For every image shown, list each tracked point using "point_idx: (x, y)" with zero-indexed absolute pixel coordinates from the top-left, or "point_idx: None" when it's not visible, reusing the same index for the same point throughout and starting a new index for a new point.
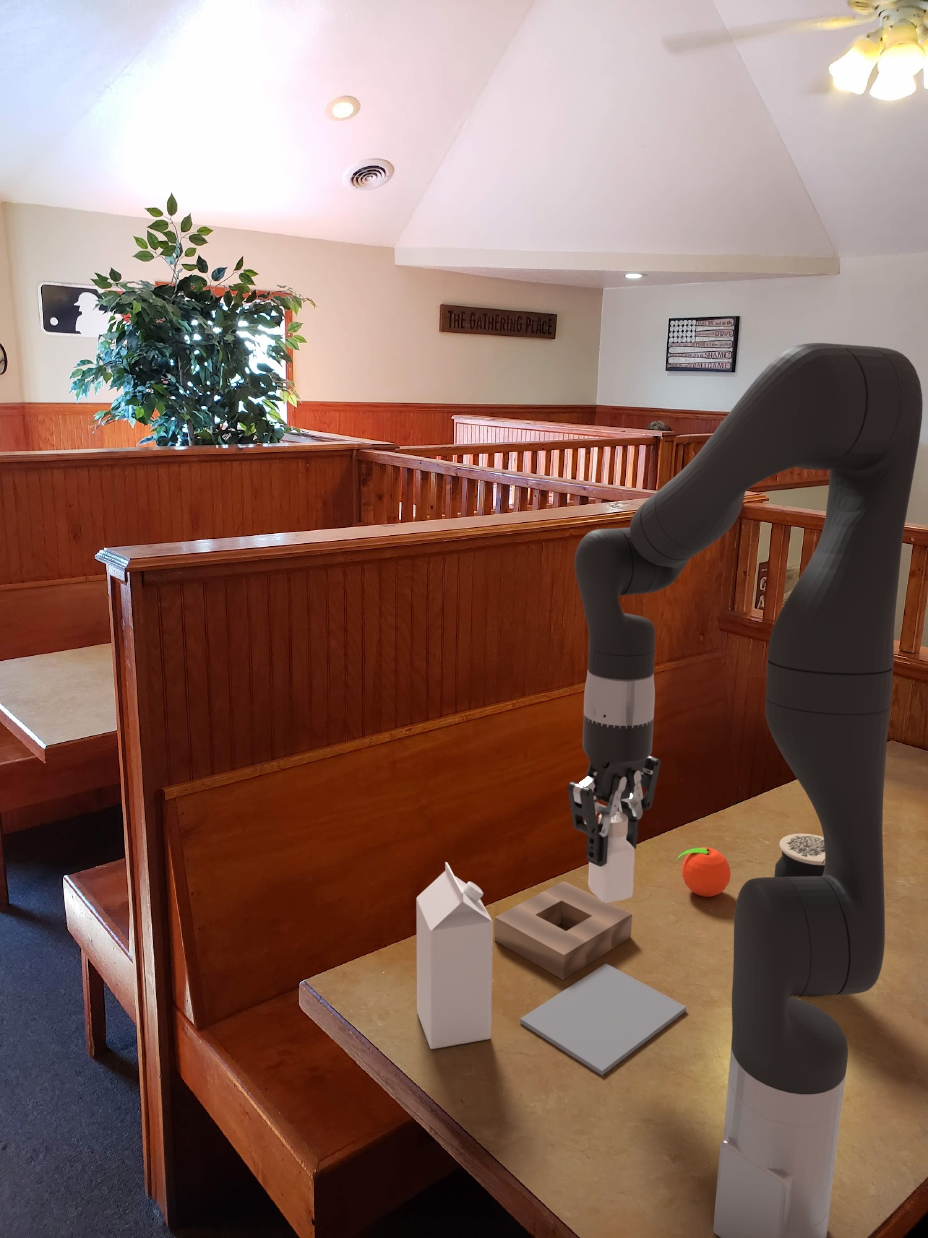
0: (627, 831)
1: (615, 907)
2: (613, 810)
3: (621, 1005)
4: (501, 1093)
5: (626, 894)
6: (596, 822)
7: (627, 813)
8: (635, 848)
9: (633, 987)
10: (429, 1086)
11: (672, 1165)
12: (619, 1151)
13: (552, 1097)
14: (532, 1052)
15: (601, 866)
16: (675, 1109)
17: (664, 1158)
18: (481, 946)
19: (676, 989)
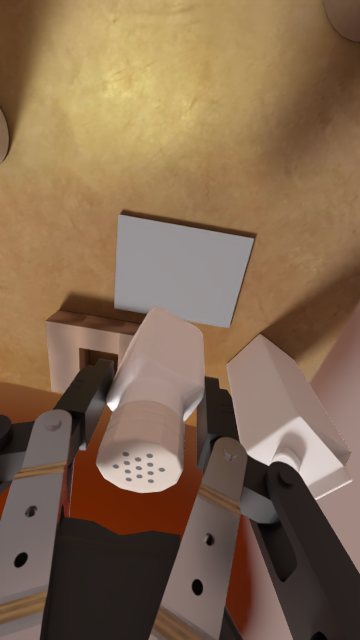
0: (98, 401)
1: (49, 337)
2: (217, 520)
3: (159, 268)
4: (313, 295)
5: (168, 313)
6: (286, 508)
7: (74, 446)
8: (100, 358)
9: (127, 271)
10: (330, 340)
11: (336, 118)
12: (338, 175)
13: (299, 260)
14: (255, 300)
15: (217, 378)
16: (260, 154)
17: (330, 130)
18: (298, 400)
19: (95, 238)
